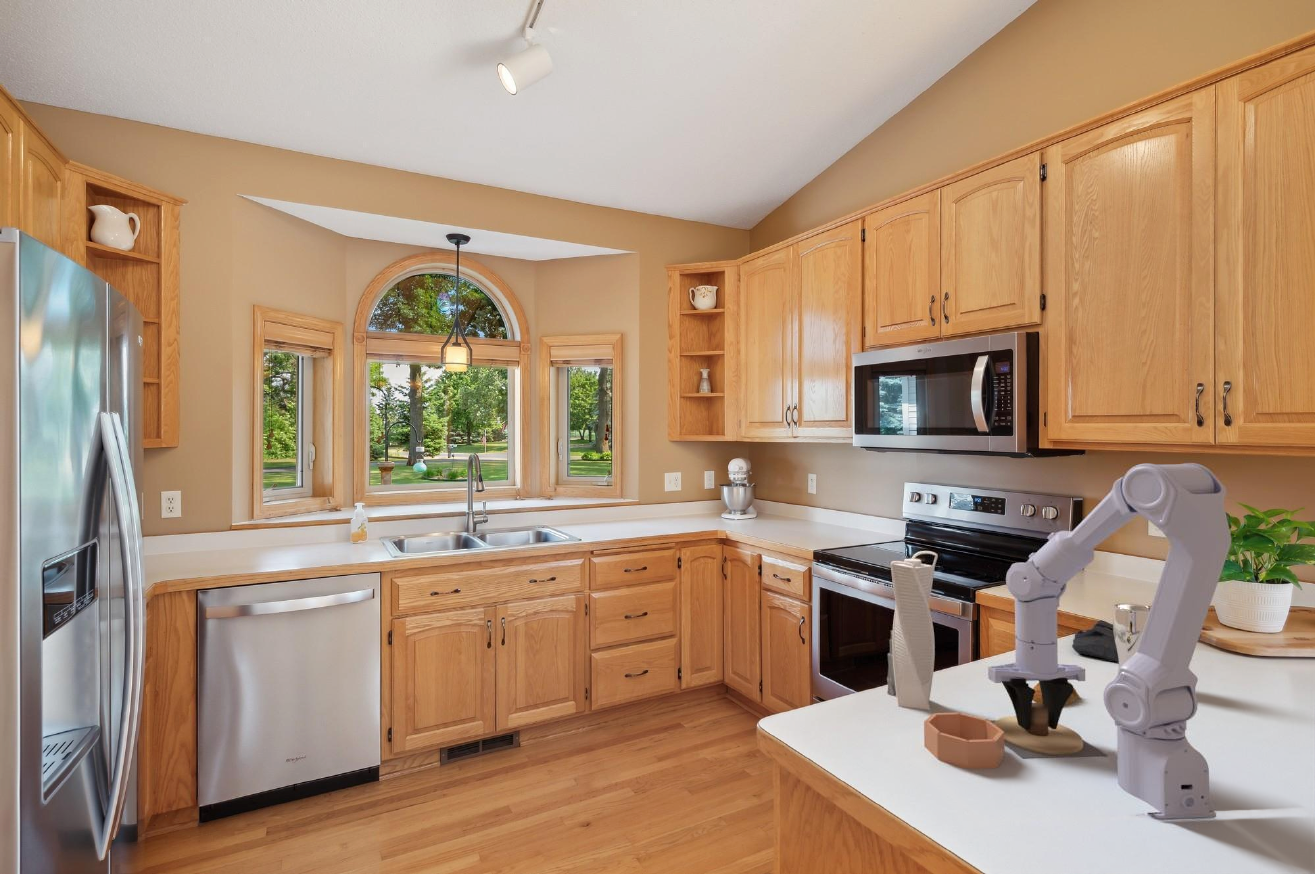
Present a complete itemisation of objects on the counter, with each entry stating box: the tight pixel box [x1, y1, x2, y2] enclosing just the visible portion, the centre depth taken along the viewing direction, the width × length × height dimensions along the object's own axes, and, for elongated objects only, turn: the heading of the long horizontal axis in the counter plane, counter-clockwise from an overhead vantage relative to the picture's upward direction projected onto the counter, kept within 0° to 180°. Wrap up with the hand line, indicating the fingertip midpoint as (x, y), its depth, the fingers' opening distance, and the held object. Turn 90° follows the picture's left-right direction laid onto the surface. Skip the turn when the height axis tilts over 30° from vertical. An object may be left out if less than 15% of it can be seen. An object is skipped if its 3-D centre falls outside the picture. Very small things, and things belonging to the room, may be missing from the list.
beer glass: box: [1112, 602, 1151, 676], centre depth 126 cm, size 7×7×15 cm
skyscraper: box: [886, 550, 939, 711], centre depth 116 cm, size 8×8×28 cm
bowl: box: [923, 712, 1005, 770], centre depth 97 cm, size 10×10×4 cm
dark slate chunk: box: [1071, 619, 1119, 664], centre depth 149 cm, size 15×22×5 cm
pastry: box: [1032, 681, 1081, 706], centre depth 117 cm, size 9×7×4 cm
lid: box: [994, 702, 1084, 755], centre depth 101 cm, size 12×12×5 cm
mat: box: [988, 719, 1109, 760], centre depth 101 cm, size 13×13×1 cm
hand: (1037, 726), depth 101 cm, fingers open, 4 cm apart
